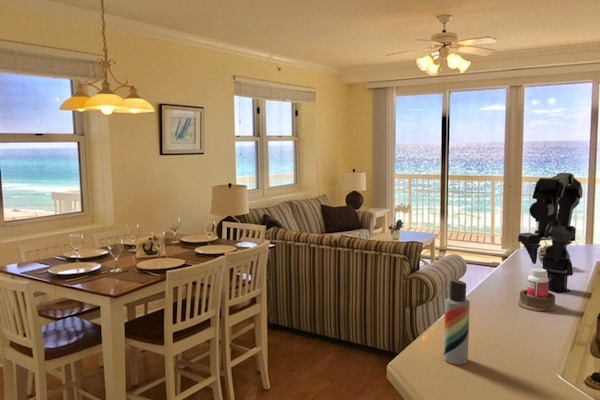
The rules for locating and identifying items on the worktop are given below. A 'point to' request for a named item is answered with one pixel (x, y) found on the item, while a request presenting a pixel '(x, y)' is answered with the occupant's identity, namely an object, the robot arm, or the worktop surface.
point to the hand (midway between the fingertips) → (545, 262)
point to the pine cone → (542, 253)
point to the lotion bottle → (456, 324)
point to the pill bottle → (538, 283)
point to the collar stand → (537, 302)
